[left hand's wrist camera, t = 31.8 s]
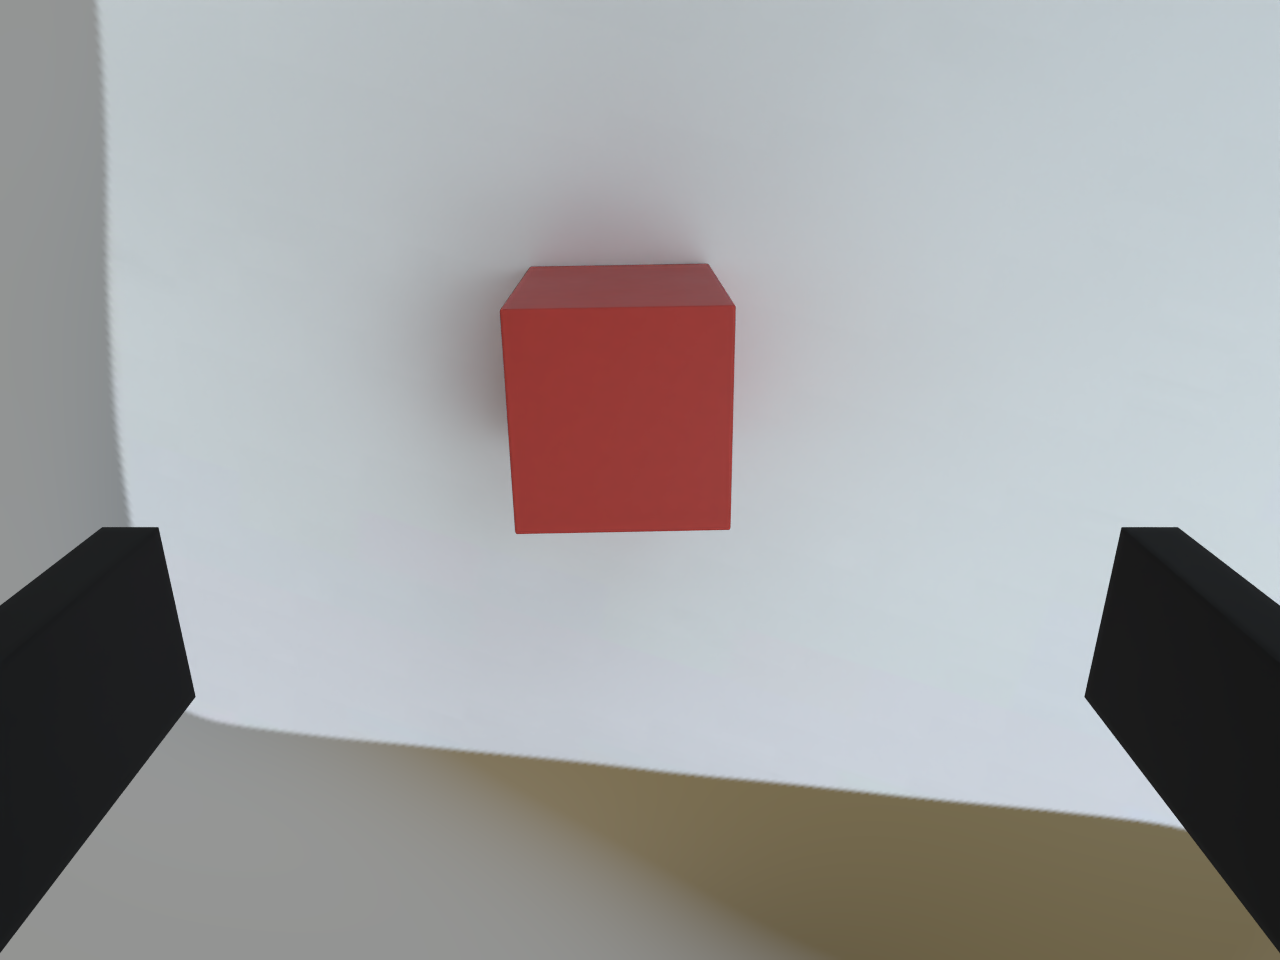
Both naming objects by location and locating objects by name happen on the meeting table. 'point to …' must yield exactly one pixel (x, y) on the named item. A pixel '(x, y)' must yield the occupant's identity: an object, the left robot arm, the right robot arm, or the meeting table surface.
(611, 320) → the brick
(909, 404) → the meeting table surface
